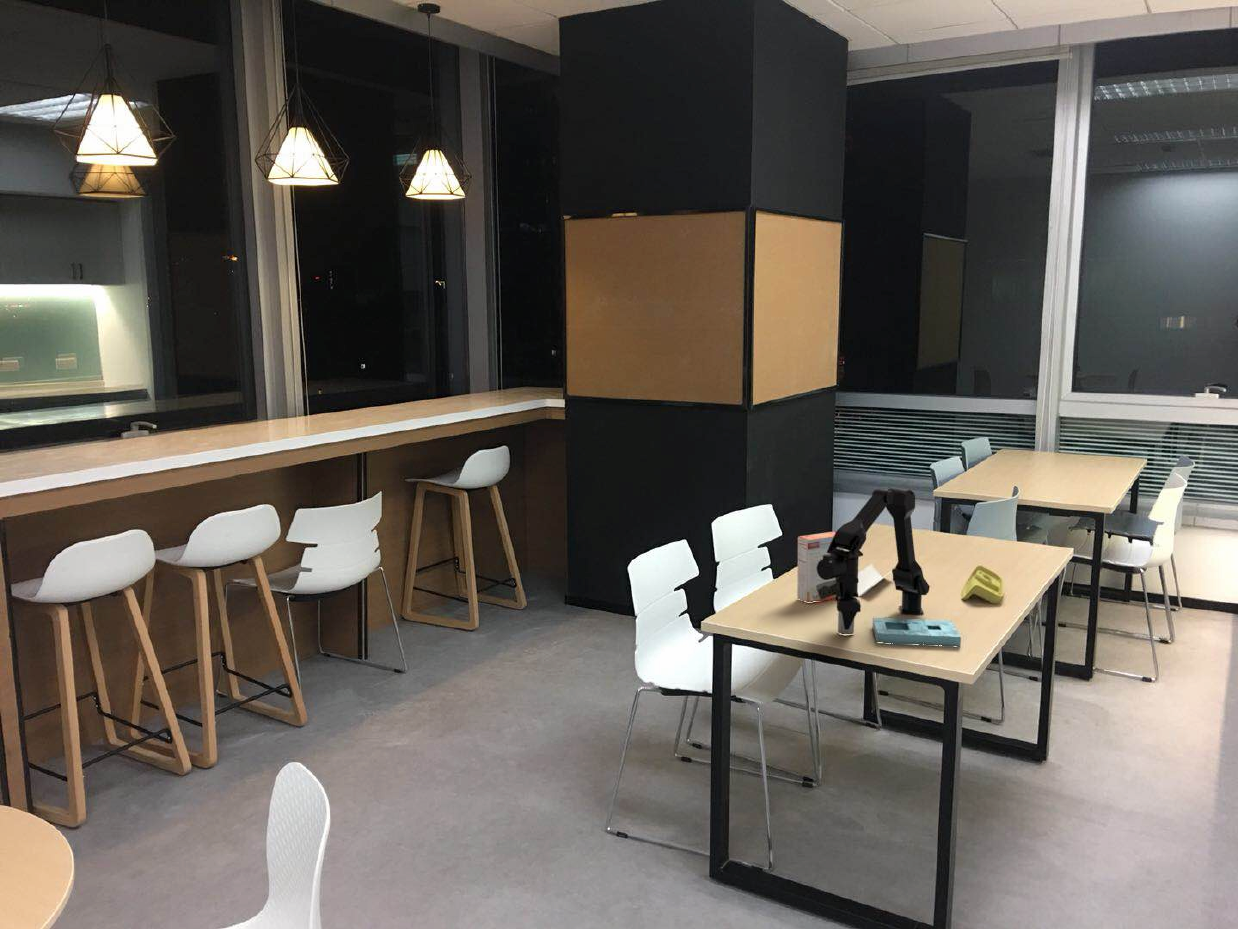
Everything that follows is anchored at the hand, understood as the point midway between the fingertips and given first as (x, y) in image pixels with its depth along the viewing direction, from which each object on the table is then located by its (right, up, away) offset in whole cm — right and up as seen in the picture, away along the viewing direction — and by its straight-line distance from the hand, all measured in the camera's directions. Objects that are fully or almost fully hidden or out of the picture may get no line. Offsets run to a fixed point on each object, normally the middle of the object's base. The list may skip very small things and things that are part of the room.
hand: (846, 626), depth 276 cm
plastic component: (+53, +4, +36) cm, 64 cm away
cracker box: (-1, +3, +33) cm, 34 cm away
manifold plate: (+19, -3, -3) cm, 19 cm away
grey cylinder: (0, -2, 0) cm, 2 cm away
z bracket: (+17, +5, +47) cm, 51 cm away
